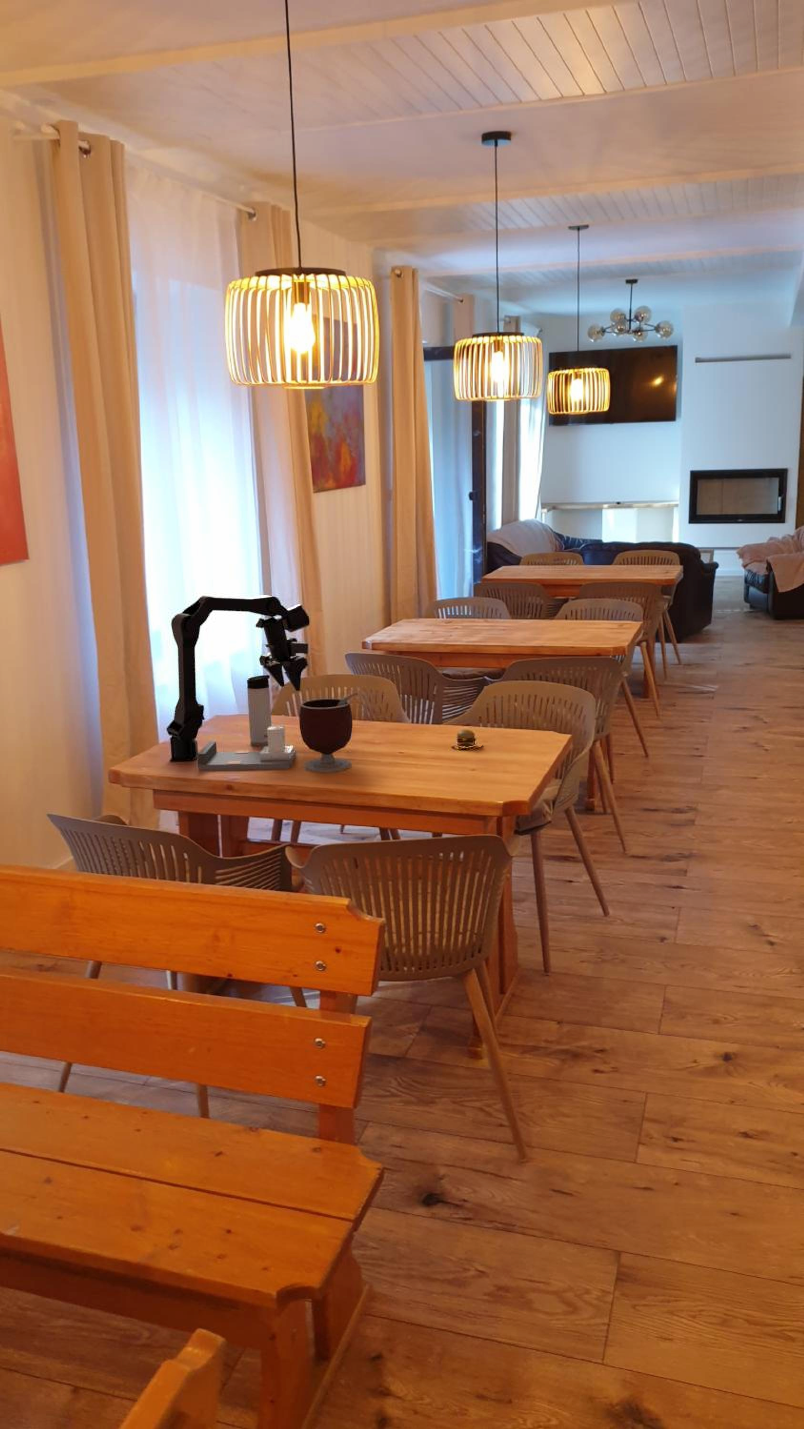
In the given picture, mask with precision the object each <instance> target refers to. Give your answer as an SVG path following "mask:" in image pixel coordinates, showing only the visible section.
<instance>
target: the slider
mask: <svg viewBox="0 0 804 1429" xmlns="http://www.w3.org/2000/svg"><path fill="white" fill-rule="evenodd" d="M285 732H286V730H285V725H271V726H269V728H268V729H267V736H268V745H266V746H263V748H262V750H260V751H261V752H260V761H273V760H290V759H291V758H292V756H293V754H294V751H295V746H294V745H286V735H285Z"/></svg>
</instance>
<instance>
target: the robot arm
mask: <svg viewBox="0 0 804 1429" xmlns="http://www.w3.org/2000/svg"><path fill="white" fill-rule="evenodd" d="M214 611H219V612H220V611H221V612H226V611H227V612H245V613H250V614H251V613H252V614H257V615H261V616H265V617H268V618H261V617H260V618H258V620H257V622H256V623H255V625H254V626H255V628H258V629H263V631H264V634H265V638H266V643H265V647H266V648H267V649H269V651H268V652H266V653H263V654H261V655H260V657H259V658H258V661H259V665H260V666H262V667H263V669H265V670H266V672H267V673H269V674H268V675H270V677H272V678H273V679H274V681H276V683H277V684H278V685H279V686H280V688H283V687H285V679H284V674H285V676H286V678H287V679H288V681H289V682H290V684H291V685H292V688H293V689H294V690H295V692H299V691H301V680H302V673H303V672H304V670H305V669H306V668H307V667H308V666H309V663H308V659H307V658H305V657H304V656H301V655H297V654H304V655H308V654H309V642H304V641H298V639H297V638H295V637H289V638H288V635H287V632H286V631H288V632H289V633H293V632H296V631H299V630H302V629H304V628H306V627H310V626H309V625H310V623H311V622H310V617H309V615H308V613H307V612H306V610H305V608H304V607H303V605H302V604H296V605H293V606H292V607H289V608H286V607H285V606H283V605H282V603H281V600H280V599H279V598H278V597H276V596H272V595H267V594H260V595H253V596H250V597H230V596H229V597H227V596H225V597H223V596H220V597H219V596H211V595H210V596H209V595H202V596H200V597H199V598H198V599H197V600H196V601H194V603H192V604H190V605H188V607H186V608H184V609H183V610H182V612H180V613H177V614H175V615H174V617H173V618H171V621H170V622H171V623H170V626H171V631H172V635H173V639H174V642H175V644H176V646H177V668H178V669H177V670H178V672H177V673H178V700H177V703H176V705H175V707H174V713H173V714H174V715H173V719H172V721H171V722H170V723H169V724H168V726H167V727H166V732H167V734H168V735H169V736H171V737H170V738H169V741H170V744H169V745H170V752H171V753H170V754H171V755H170V756H171V758H170V759H169V761H170V762H187V761H188V762H191V761H194V760H195V759H197V758H198V753H199V748H198V747H199V746H198V740H196V739H197V736H198V734H199V730H200V729H201V728H202V725H203V721H205V720H206V719H205V716H204V715H205V714H204V713H205V712H204V711H205V706H204V705H203V704H201V703H199V702H198V700H197V686H196V685H197V684H196V683H197V681H196V680H197V679H196V676H197V674H196V646H197V643H198V641H199V639H200V638H199V637H200V633H201V632H200V630H201V627H202V626H203V625H204V623H205V622H207V620H208V618H209V616H210V614H211V613H212V612H214ZM277 616H279V617H277ZM283 670H284V672H283Z"/></svg>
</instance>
